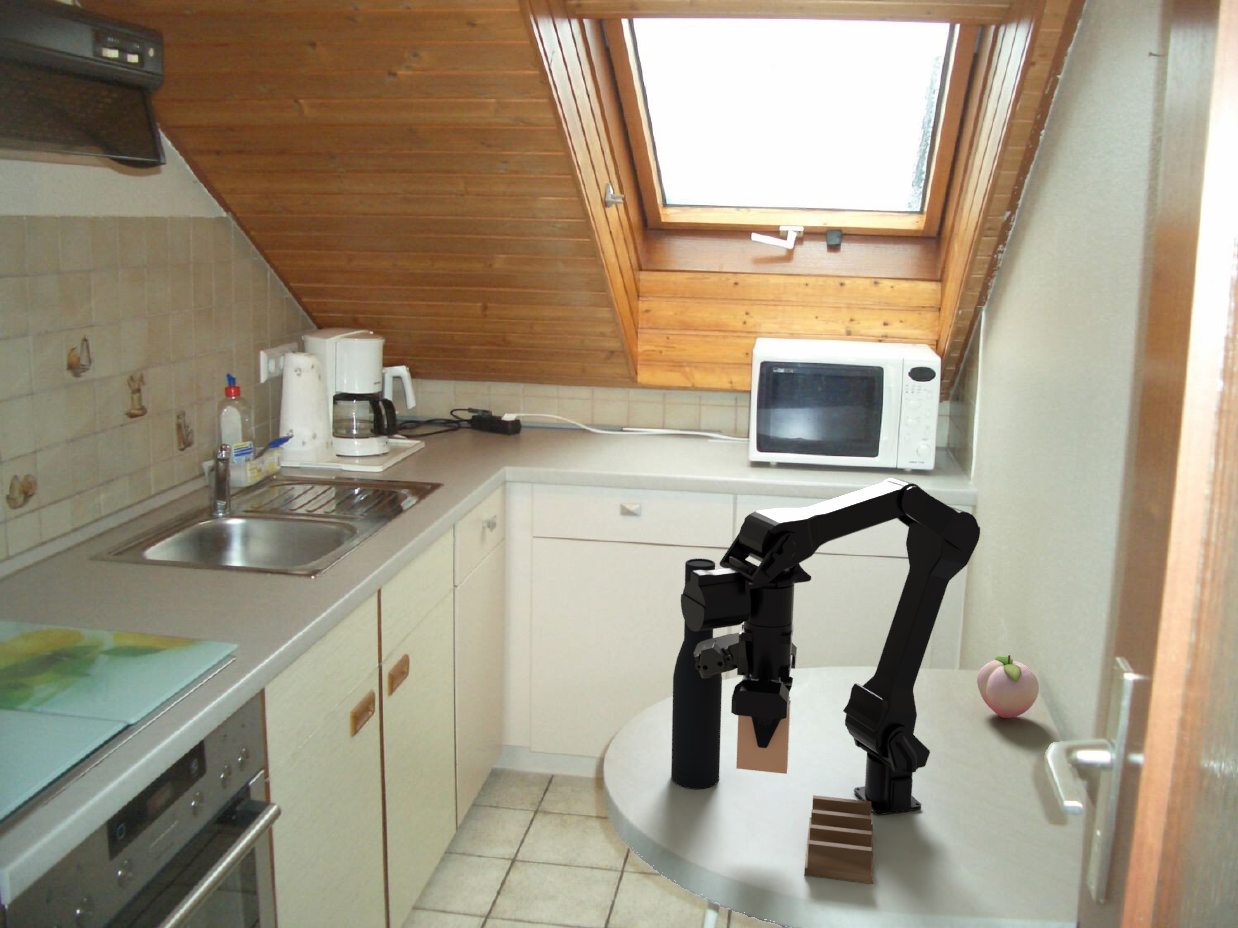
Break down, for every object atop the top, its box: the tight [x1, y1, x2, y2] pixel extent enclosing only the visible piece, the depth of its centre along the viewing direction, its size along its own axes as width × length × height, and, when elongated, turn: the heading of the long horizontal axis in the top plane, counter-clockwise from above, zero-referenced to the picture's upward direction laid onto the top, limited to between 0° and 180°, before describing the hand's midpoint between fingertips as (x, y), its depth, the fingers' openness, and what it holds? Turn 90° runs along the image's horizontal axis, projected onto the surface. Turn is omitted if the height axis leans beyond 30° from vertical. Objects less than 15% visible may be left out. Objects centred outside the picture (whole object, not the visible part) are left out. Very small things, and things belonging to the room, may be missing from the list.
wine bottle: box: [670, 558, 723, 790], centre depth 149 cm, size 6×6×30 cm
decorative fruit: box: [976, 654, 1040, 719], centre depth 171 cm, size 9×8×10 cm
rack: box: [803, 794, 874, 884], centre depth 134 cm, size 12×8×4 cm, turn 168°
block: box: [735, 700, 792, 775], centre depth 136 cm, size 2×6×8 cm, turn 78°
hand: (763, 742), depth 137 cm, fingers closed on block, 2 cm apart
